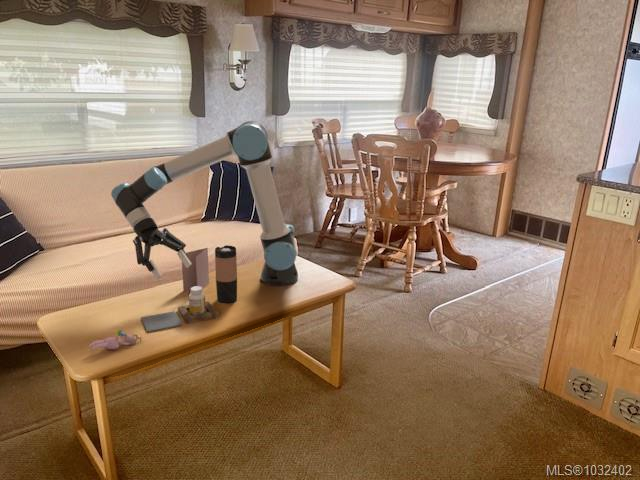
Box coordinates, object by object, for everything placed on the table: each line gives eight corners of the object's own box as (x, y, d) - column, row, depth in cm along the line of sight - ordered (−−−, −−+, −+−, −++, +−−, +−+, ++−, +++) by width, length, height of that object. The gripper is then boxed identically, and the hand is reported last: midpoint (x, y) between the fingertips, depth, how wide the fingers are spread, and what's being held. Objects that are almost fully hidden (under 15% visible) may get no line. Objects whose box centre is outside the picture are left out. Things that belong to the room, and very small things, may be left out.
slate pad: (174, 312, 178) (174, 311, 178) (182, 325, 169) (182, 324, 169) (141, 318, 173) (141, 317, 173) (147, 332, 164) (147, 331, 164)
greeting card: (207, 282, 205) (206, 247, 200) (218, 288, 200) (217, 251, 195) (182, 290, 197) (180, 253, 192) (192, 296, 192) (190, 258, 187)
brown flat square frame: (208, 305, 185) (208, 301, 184) (218, 317, 176) (217, 313, 175) (177, 310, 180) (177, 306, 179) (186, 323, 170) (185, 319, 170)
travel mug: (233, 305, 185) (231, 252, 179) (213, 303, 186) (211, 250, 181) (240, 296, 192) (239, 246, 186) (221, 294, 194) (219, 244, 188)
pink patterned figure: (134, 341, 162) (85, 349, 151) (135, 323, 160) (86, 330, 150) (143, 348, 157) (93, 357, 147) (144, 330, 156) (94, 338, 146)
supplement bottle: (198, 309, 181) (197, 283, 178) (209, 313, 178) (207, 287, 175) (186, 314, 177) (184, 288, 174) (197, 319, 174) (195, 292, 171)
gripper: (164, 221, 193) (195, 267, 190) (107, 237, 173) (141, 288, 170) (173, 209, 189) (205, 256, 186) (116, 224, 169) (151, 277, 166)
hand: (175, 271), depth 178 cm, fingers open, 13 cm apart
